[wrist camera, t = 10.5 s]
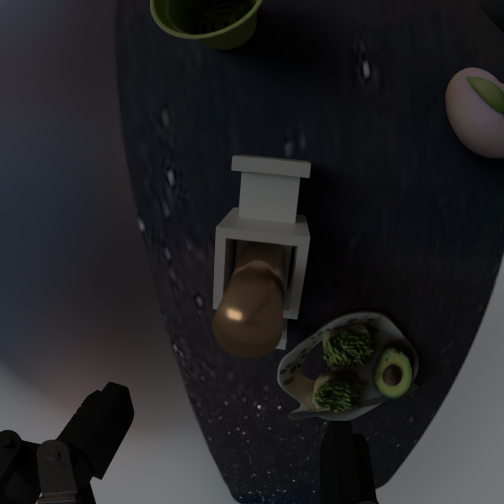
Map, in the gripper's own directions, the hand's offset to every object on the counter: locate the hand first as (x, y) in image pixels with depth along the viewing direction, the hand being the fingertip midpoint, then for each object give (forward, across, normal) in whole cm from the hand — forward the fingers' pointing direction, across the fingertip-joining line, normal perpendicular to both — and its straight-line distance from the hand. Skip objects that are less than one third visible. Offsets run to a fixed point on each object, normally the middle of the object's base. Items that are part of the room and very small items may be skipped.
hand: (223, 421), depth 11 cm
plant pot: (+23, +6, -23) cm, 33 cm away
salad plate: (+24, -13, +15) cm, 31 cm away
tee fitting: (+23, 0, 0) cm, 23 cm away
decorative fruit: (+23, -20, -17) cm, 35 cm away
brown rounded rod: (+19, 0, 0) cm, 19 cm away
